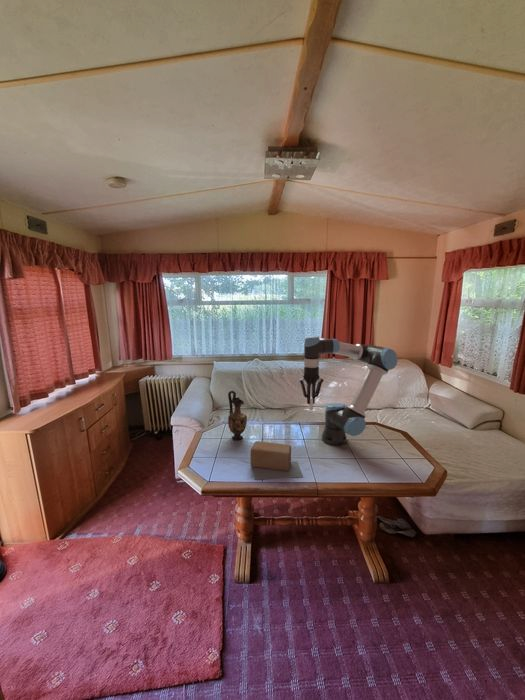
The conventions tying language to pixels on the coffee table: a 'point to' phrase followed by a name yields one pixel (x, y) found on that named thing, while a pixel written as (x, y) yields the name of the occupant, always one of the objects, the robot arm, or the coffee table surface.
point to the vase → (236, 417)
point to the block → (271, 455)
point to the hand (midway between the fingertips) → (310, 409)
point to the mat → (278, 472)
